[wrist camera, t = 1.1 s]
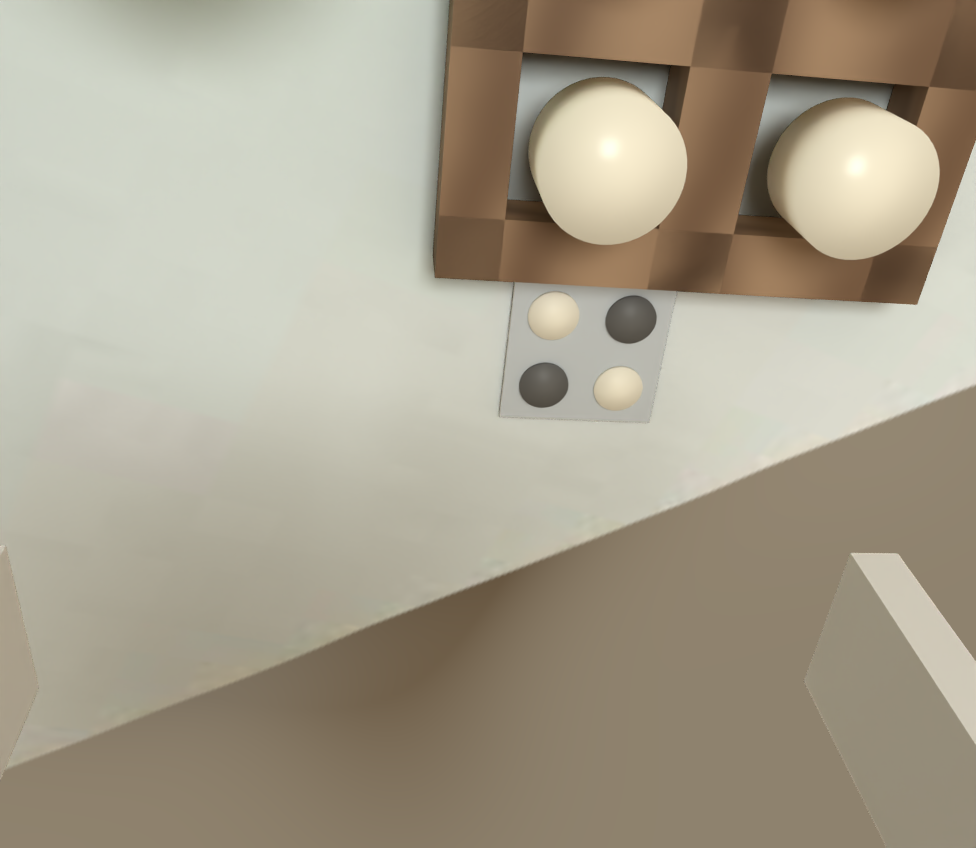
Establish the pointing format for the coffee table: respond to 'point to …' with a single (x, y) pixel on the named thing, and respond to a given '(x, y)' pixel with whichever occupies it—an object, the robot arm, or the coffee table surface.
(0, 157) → the coffee table surface
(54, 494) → the coffee table surface
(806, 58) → the board
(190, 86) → the coffee table surface
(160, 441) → the coffee table surface
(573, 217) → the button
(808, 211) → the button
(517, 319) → the card
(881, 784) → the robot arm
